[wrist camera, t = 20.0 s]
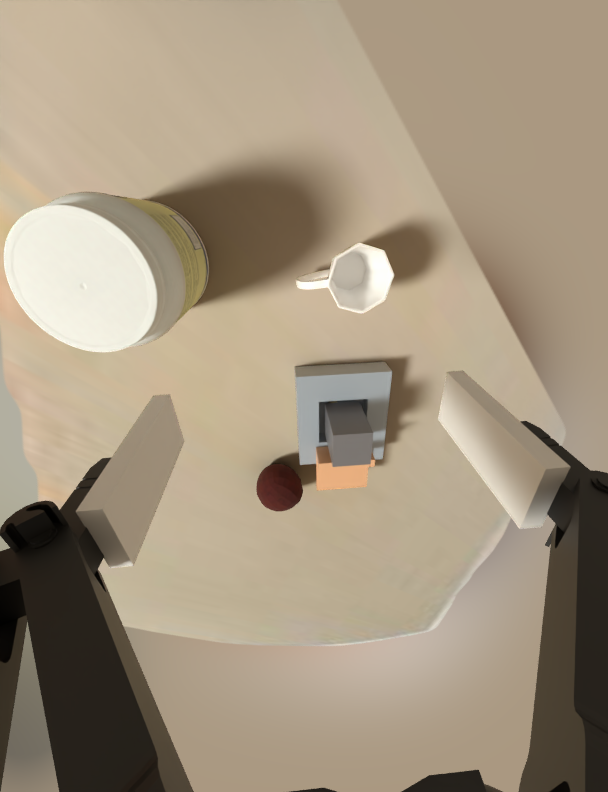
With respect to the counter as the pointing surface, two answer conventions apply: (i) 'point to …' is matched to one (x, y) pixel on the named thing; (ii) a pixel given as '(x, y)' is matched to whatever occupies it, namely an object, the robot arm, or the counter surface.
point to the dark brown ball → (279, 487)
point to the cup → (354, 278)
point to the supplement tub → (105, 269)
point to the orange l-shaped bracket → (339, 472)
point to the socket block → (341, 386)
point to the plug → (348, 434)
